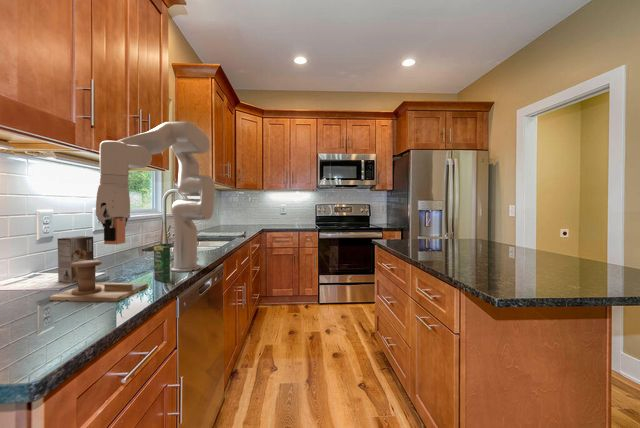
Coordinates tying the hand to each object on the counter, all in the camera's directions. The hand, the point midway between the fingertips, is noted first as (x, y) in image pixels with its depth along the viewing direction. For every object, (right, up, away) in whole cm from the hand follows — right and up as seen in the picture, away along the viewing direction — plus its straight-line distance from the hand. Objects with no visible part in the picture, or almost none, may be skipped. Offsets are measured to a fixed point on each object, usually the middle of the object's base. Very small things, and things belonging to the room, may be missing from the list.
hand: (114, 239), depth 99 cm
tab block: (0, -1, 0) cm, 1 cm away
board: (-6, -18, +3) cm, 19 cm away
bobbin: (-9, -17, 0) cm, 19 cm away
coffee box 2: (+4, -18, +21) cm, 28 cm away
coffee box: (-28, -17, +21) cm, 39 cm away
